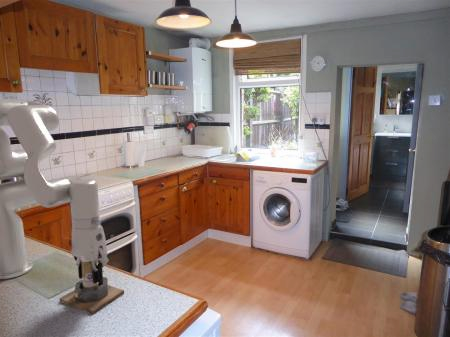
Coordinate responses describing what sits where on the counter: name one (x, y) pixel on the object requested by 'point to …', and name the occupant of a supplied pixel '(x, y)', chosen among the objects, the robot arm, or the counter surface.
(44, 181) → the robot arm
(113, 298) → the walnut board
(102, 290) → the socket
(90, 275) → the sprinkles bottle
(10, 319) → the counter surface
